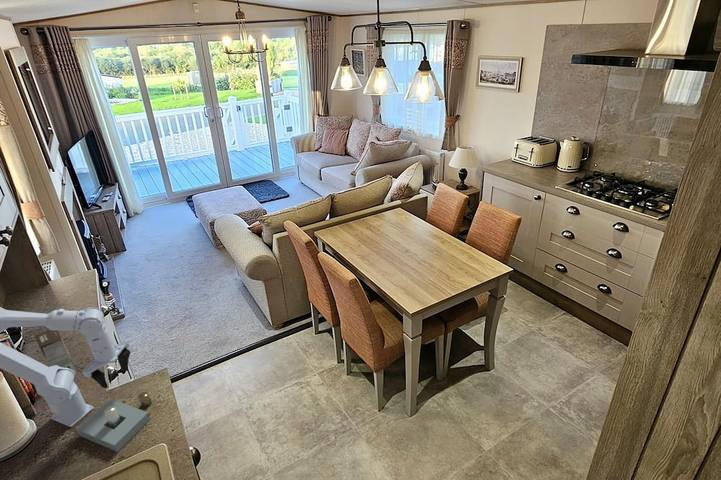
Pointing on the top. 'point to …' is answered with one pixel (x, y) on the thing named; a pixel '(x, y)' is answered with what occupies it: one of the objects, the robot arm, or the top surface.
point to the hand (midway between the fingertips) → (115, 378)
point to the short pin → (145, 399)
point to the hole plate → (116, 438)
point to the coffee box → (54, 349)
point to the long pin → (112, 416)
